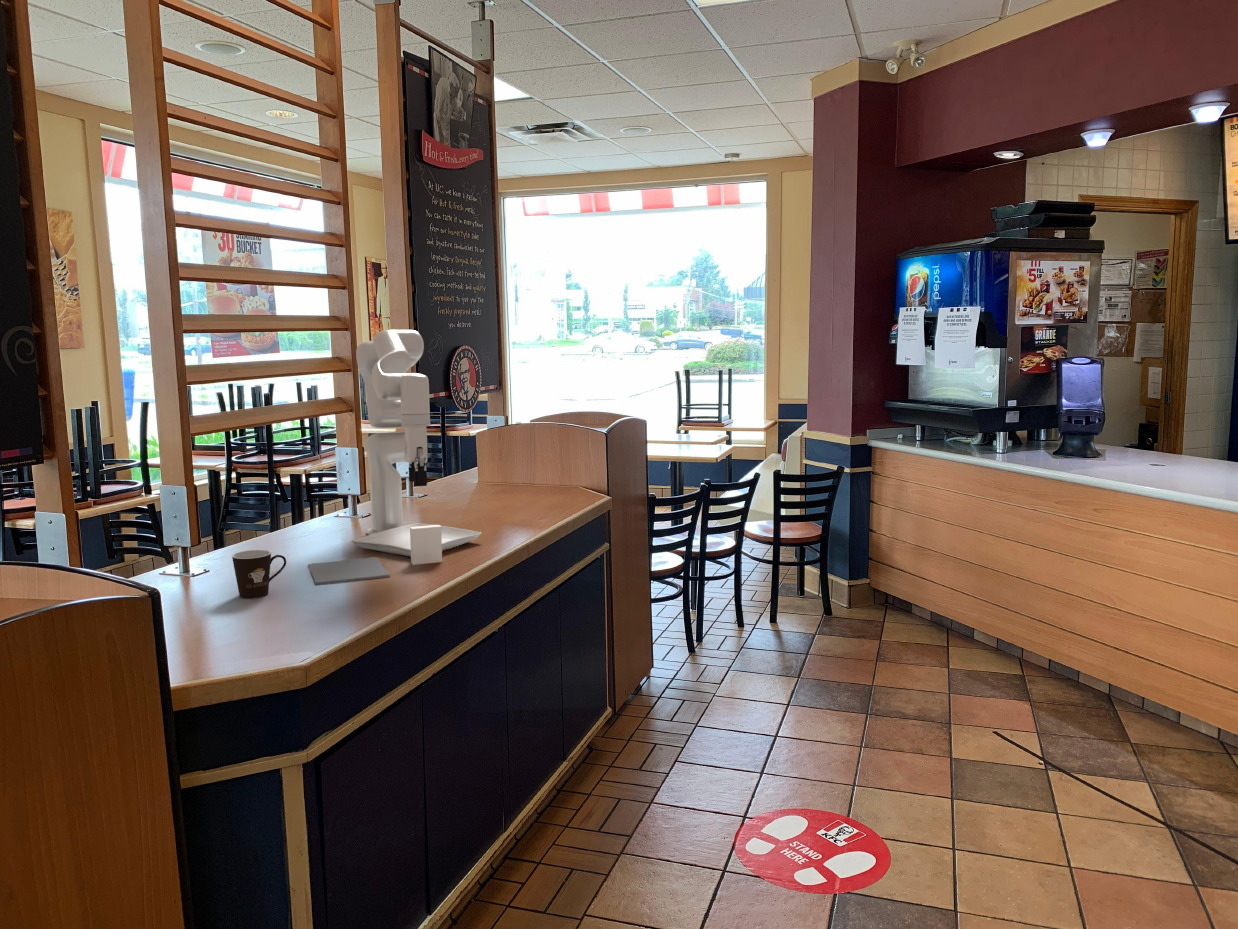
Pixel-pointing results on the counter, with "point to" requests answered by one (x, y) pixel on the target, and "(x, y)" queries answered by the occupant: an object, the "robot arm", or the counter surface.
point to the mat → (347, 570)
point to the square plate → (400, 539)
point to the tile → (426, 544)
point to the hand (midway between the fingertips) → (417, 483)
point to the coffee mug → (254, 572)
